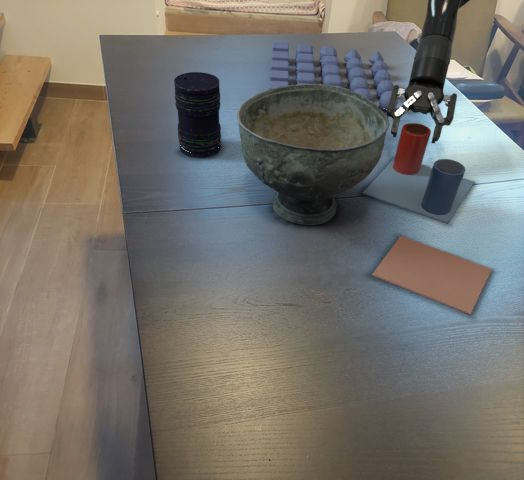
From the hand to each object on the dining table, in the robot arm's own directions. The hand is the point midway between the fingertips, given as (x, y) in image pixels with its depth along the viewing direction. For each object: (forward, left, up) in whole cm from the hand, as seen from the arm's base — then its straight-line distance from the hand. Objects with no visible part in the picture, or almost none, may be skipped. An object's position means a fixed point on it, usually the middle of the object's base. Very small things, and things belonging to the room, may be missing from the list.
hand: (413, 139), depth 112 cm
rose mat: (-18, +33, -7) cm, 38 cm away
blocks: (+36, -32, -7) cm, 49 cm away
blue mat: (-6, +7, -7) cm, 11 cm away
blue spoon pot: (-11, +12, -7) cm, 18 cm away
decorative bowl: (+12, +28, -7) cm, 31 cm away
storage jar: (+44, +20, -7) cm, 49 cm away
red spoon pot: (0, +1, -7) cm, 7 cm away
